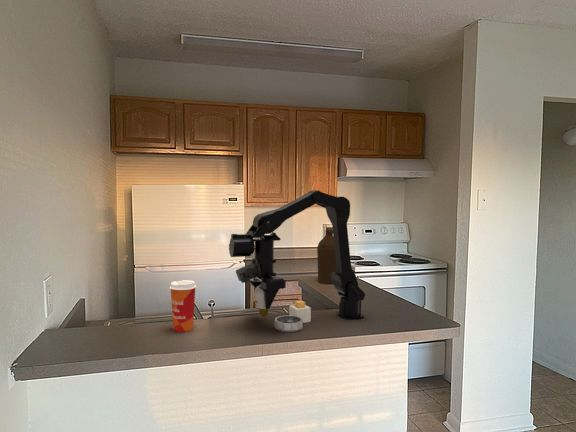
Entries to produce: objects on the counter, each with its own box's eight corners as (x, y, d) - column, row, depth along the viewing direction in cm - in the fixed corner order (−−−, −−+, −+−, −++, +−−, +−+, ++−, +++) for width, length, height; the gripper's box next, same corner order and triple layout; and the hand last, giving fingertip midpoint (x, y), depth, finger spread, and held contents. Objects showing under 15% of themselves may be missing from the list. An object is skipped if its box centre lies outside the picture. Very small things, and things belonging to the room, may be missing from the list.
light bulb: (275, 314, 131) (276, 282, 131) (269, 320, 126) (270, 286, 125) (257, 312, 133) (258, 281, 132) (251, 318, 127) (251, 285, 127)
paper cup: (165, 328, 126) (165, 281, 125) (189, 323, 131) (188, 278, 130) (177, 335, 120) (176, 286, 119) (201, 330, 125) (201, 283, 124)
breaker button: (301, 310, 136) (301, 300, 136) (305, 312, 134) (305, 302, 134) (294, 311, 135) (295, 301, 135) (298, 313, 133) (298, 303, 133)
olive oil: (340, 285, 187) (341, 228, 186) (316, 284, 188) (317, 228, 186) (339, 280, 198) (340, 226, 196) (316, 279, 198) (317, 226, 197)
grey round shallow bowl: (294, 322, 133) (294, 314, 133) (307, 330, 126) (307, 321, 126) (270, 325, 130) (270, 317, 129) (282, 334, 122) (282, 325, 122)
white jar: (303, 317, 138) (303, 303, 138) (310, 321, 134) (310, 306, 134) (289, 319, 136) (289, 304, 136) (296, 323, 132) (296, 308, 131)
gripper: (228, 252, 133) (228, 302, 134) (250, 262, 116) (250, 318, 117) (261, 250, 138) (261, 298, 139) (286, 259, 121) (286, 313, 122)
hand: (263, 306), depth 129 cm, fingers closed on light bulb, 5 cm apart
